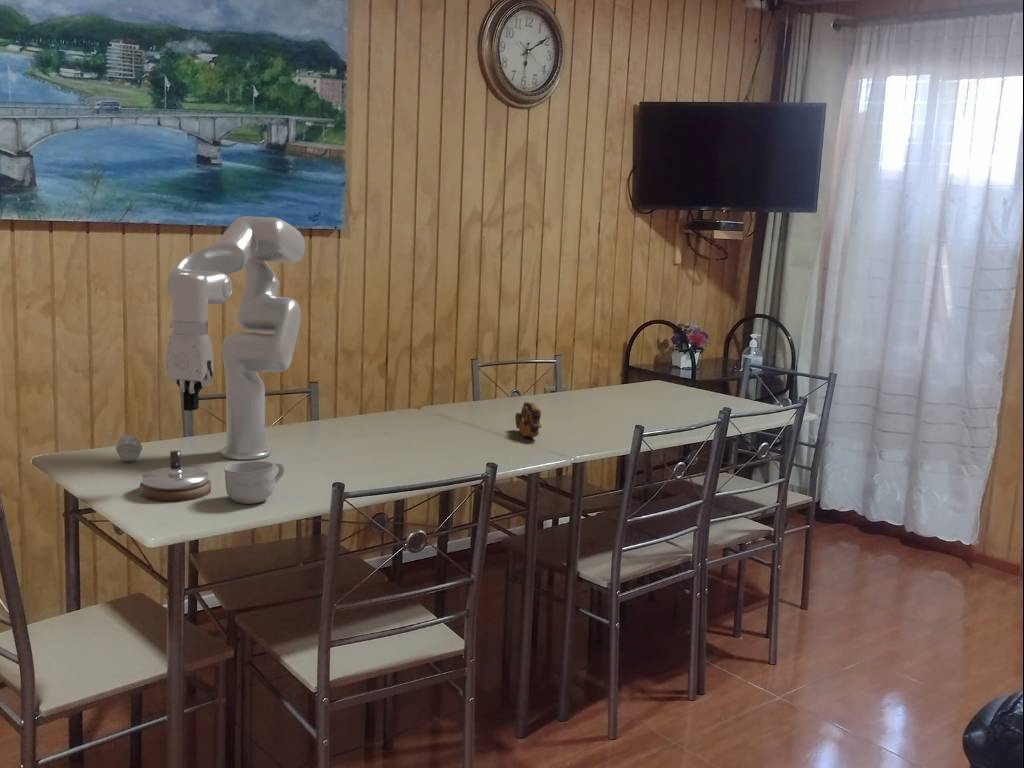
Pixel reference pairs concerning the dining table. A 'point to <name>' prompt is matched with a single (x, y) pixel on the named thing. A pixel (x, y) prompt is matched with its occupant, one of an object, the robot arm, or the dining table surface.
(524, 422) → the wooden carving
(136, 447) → the grey lumpy ball
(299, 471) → the dining table surface
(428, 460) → the dining table surface
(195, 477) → the handwheel
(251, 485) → the teacup
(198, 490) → the plinth
